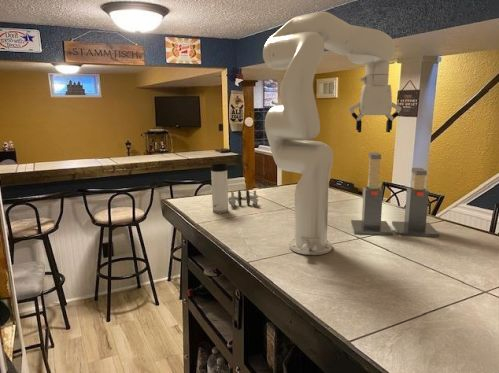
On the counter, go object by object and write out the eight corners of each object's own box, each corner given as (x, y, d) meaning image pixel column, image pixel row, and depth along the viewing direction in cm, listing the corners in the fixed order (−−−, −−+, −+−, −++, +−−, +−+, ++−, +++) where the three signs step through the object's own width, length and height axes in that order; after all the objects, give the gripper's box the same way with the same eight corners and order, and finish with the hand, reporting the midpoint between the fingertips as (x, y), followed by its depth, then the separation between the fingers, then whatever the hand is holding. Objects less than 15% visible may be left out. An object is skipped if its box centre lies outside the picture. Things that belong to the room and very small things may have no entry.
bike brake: (261, 206, 158) (255, 201, 177) (260, 189, 157) (254, 186, 177) (228, 208, 156) (226, 203, 176) (227, 191, 156) (225, 188, 176)
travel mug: (214, 214, 149) (212, 163, 145) (211, 209, 156) (209, 161, 151) (230, 212, 151) (228, 162, 147) (226, 208, 157) (225, 160, 153)
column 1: (377, 213, 125) (381, 154, 121) (368, 213, 126) (371, 154, 122) (375, 208, 131) (378, 152, 127) (365, 208, 131) (368, 152, 127)
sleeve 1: (392, 235, 123) (395, 193, 120) (354, 233, 125) (356, 192, 122) (386, 223, 134) (388, 185, 131) (350, 222, 136) (352, 184, 133)
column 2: (422, 229, 124) (427, 171, 120) (411, 229, 124) (416, 170, 120) (417, 224, 130) (421, 167, 126) (407, 223, 130) (411, 167, 126)
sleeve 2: (439, 237, 121) (443, 194, 118) (399, 235, 123) (402, 193, 120) (428, 225, 132) (431, 185, 129) (391, 224, 134) (394, 185, 131)
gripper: (351, 80, 126) (349, 133, 130) (406, 79, 124) (402, 132, 128) (348, 82, 133) (346, 131, 137) (400, 81, 131) (396, 131, 135)
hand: (373, 132), depth 132 cm, fingers open, 9 cm apart
